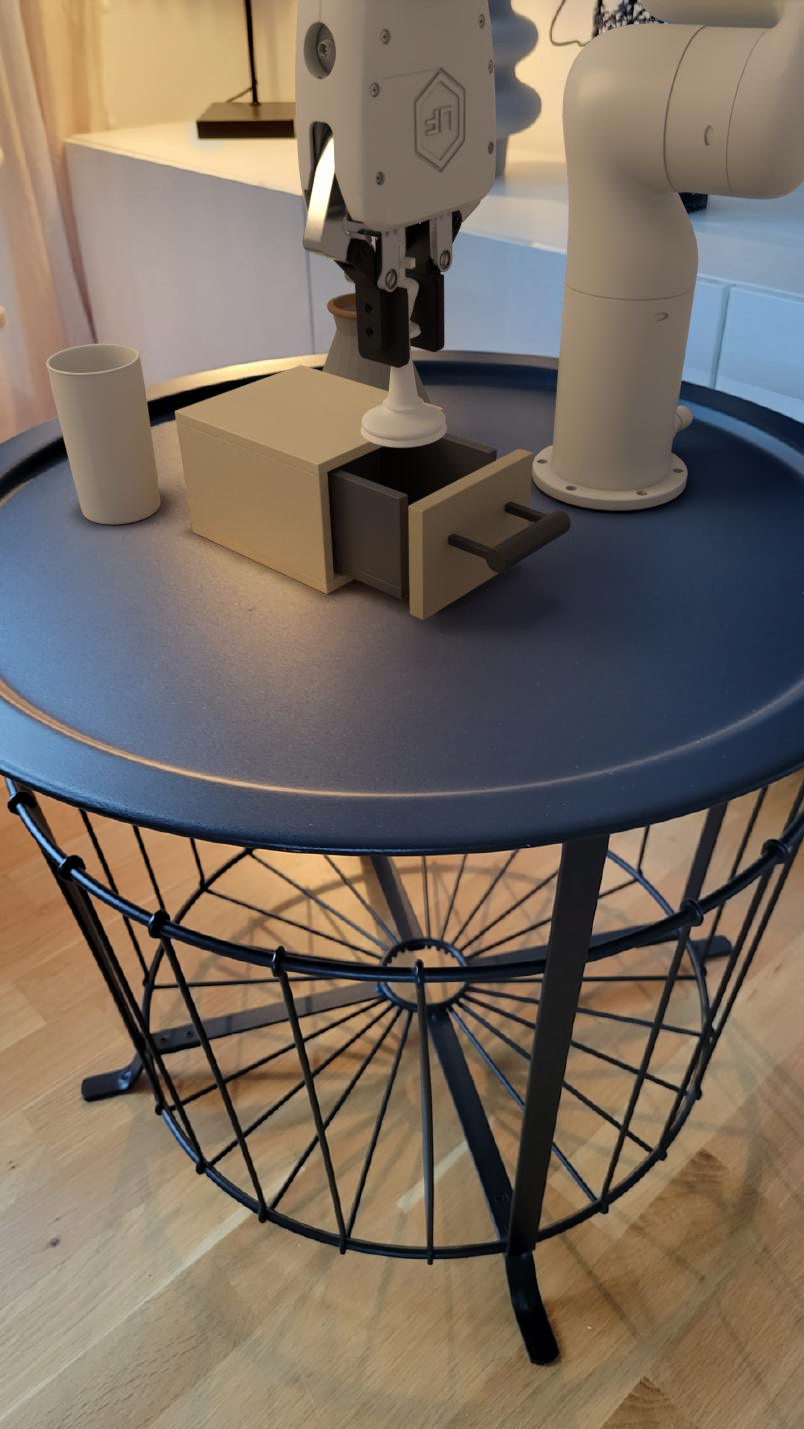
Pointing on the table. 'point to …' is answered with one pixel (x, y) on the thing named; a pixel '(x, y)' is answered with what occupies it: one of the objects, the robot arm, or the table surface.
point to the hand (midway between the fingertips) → (401, 351)
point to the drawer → (435, 519)
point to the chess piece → (404, 394)
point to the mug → (106, 431)
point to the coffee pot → (346, 353)
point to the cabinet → (275, 467)
